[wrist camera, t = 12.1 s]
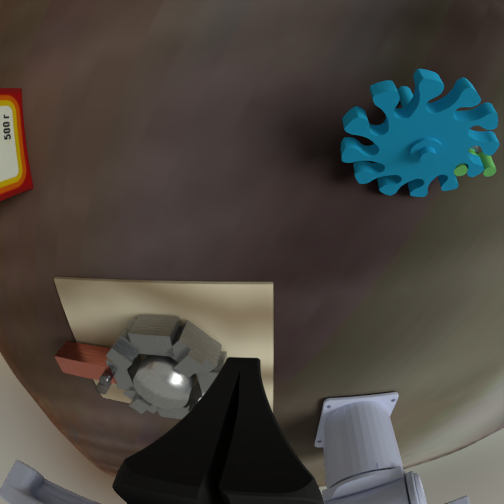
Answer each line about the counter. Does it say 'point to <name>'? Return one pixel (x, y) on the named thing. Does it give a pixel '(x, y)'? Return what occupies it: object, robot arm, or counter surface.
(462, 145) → the gear
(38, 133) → the counter surface
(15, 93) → the baking soda box
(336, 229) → the counter surface
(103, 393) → the mounting board
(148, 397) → the grey metal ball
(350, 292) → the counter surface
